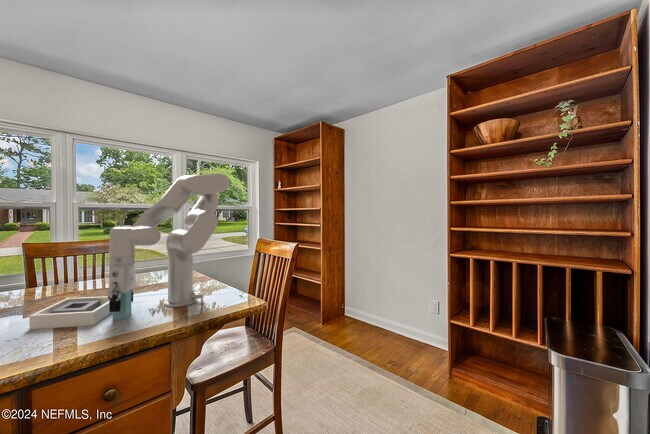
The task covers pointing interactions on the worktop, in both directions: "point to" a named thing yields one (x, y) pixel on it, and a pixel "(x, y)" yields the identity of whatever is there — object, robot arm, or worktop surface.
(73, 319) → the walled box
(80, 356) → the worktop surface
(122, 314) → the peg
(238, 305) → the worktop surface
